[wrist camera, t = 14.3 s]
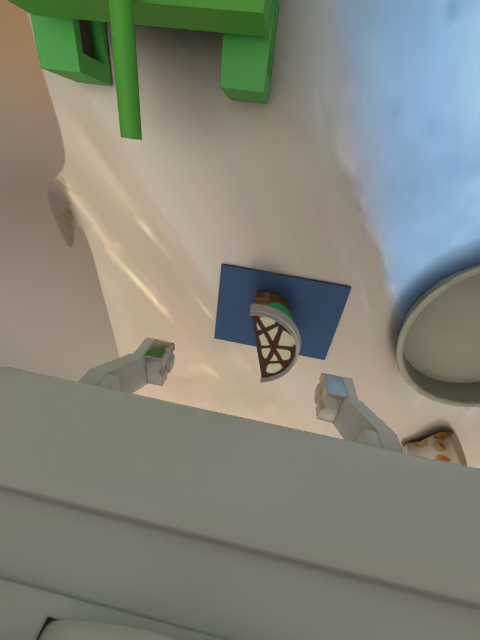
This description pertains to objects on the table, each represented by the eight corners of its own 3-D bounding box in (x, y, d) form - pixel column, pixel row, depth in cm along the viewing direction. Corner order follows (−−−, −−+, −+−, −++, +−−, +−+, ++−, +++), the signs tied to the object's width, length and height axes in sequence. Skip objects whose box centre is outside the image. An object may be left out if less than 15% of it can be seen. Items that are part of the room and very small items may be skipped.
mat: (350, 286, 42) (351, 287, 41) (324, 358, 49) (324, 360, 48) (222, 263, 43) (221, 264, 42) (215, 336, 50) (214, 338, 50)
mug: (390, 437, 56) (429, 466, 46) (428, 412, 57) (475, 436, 47) (405, 466, 57) (447, 501, 47) (443, 441, 58) (492, 470, 48)
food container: (301, 344, 47) (303, 384, 39) (265, 346, 49) (260, 385, 40) (296, 277, 42) (298, 307, 33) (256, 281, 43) (248, 311, 34)
